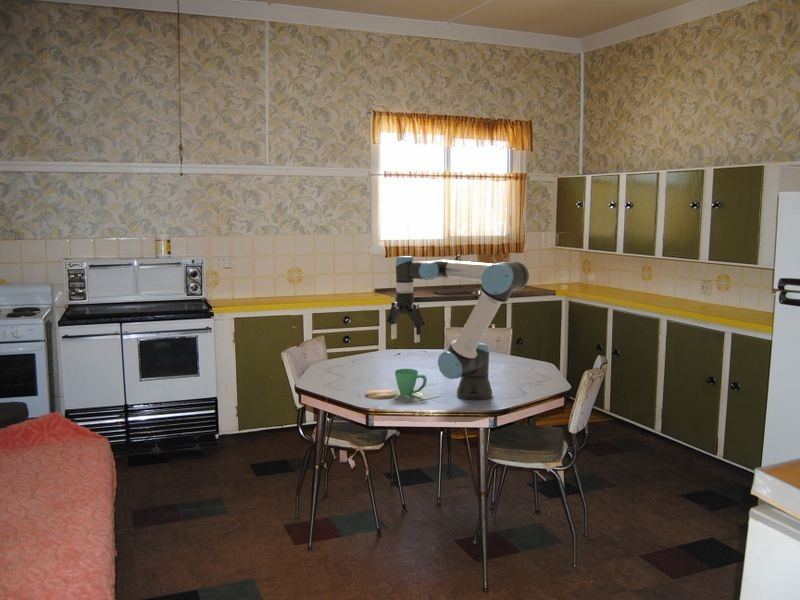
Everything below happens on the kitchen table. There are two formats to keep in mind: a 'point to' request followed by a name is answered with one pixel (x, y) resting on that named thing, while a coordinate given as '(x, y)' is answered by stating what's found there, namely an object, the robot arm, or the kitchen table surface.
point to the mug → (408, 381)
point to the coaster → (381, 394)
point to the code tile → (415, 396)
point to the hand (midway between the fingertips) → (405, 340)
